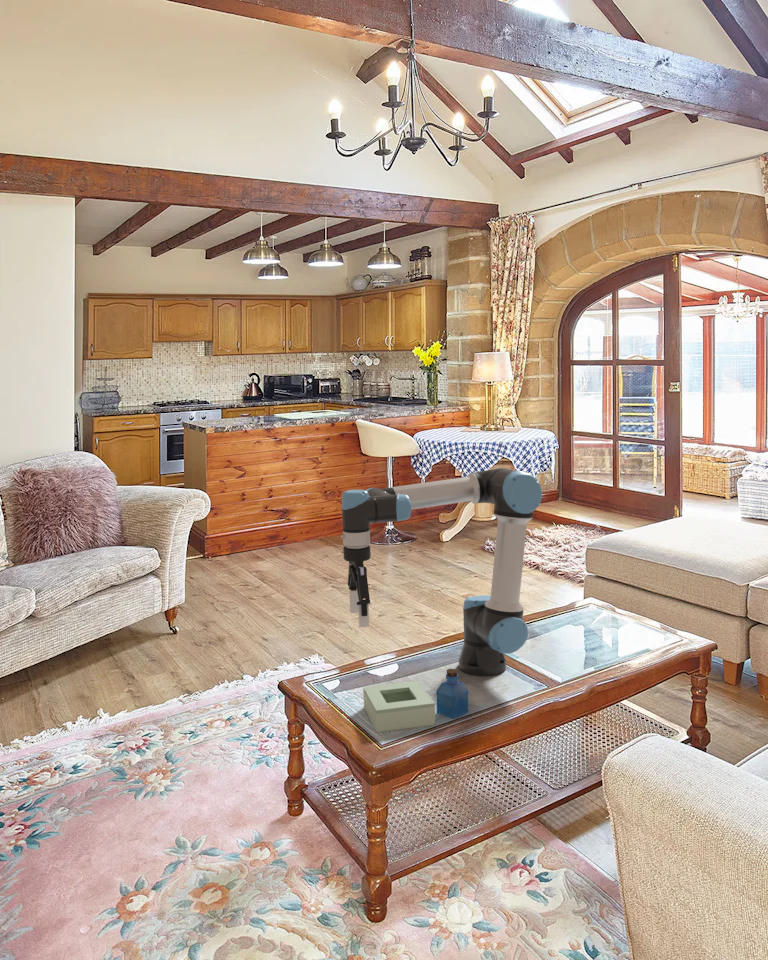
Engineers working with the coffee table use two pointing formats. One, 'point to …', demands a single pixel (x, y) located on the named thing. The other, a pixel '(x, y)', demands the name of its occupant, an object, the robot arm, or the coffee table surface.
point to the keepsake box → (398, 706)
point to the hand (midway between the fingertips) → (359, 619)
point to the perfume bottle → (452, 696)
